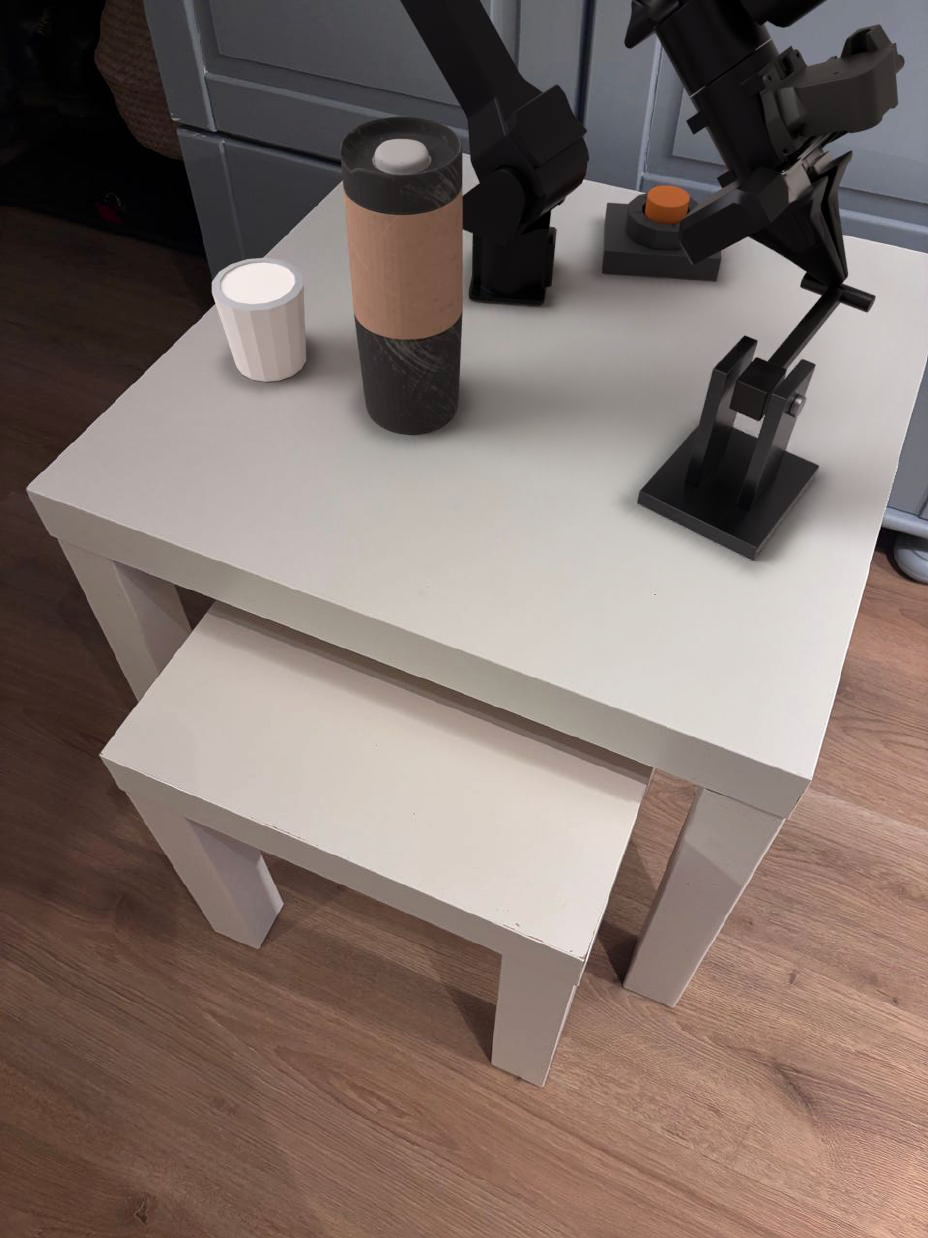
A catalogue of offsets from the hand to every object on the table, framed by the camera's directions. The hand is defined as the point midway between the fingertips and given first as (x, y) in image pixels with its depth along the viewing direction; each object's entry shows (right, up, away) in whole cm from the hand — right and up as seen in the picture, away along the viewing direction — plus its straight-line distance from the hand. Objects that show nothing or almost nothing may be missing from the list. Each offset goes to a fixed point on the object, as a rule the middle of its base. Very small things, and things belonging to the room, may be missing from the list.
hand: (839, 282), depth 67 cm
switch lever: (-4, -5, -1) cm, 6 cm away
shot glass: (-41, -2, +11) cm, 43 cm away
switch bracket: (-7, -14, +3) cm, 16 cm away
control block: (-8, +10, +21) cm, 25 cm away
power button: (-8, +12, +19) cm, 24 cm away
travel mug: (-30, -7, +8) cm, 32 cm away
